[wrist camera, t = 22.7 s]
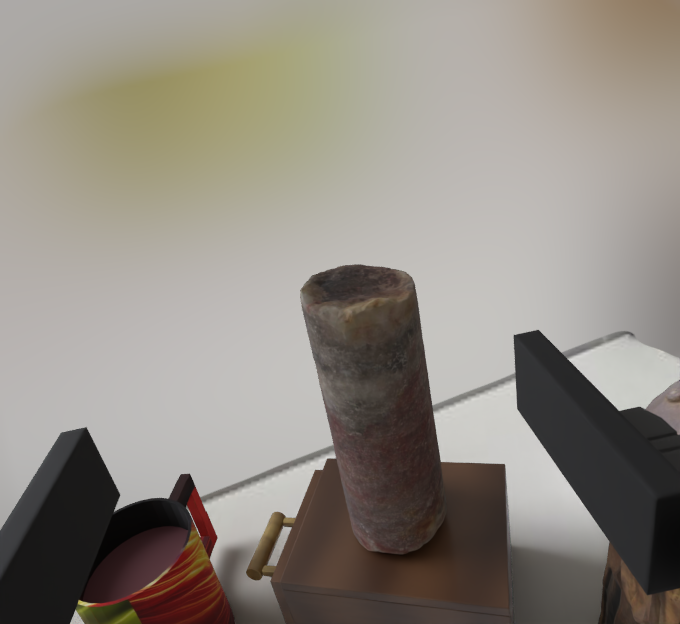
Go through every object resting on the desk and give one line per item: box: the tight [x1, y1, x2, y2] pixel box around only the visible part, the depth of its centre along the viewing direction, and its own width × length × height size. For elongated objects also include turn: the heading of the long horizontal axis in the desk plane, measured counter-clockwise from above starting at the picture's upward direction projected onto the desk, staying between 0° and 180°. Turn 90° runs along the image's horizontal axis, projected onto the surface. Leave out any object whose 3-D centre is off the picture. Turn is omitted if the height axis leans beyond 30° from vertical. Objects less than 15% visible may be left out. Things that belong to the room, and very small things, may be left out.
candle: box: [300, 265, 447, 554], centre depth 35 cm, size 8×7×20 cm
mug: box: [76, 474, 235, 624], centre depth 44 cm, size 10×14×12 cm
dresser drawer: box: [246, 470, 323, 624], centre depth 43 cm, size 19×11×8 cm, turn 75°
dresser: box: [280, 459, 514, 624], centre depth 42 cm, size 16×13×10 cm
